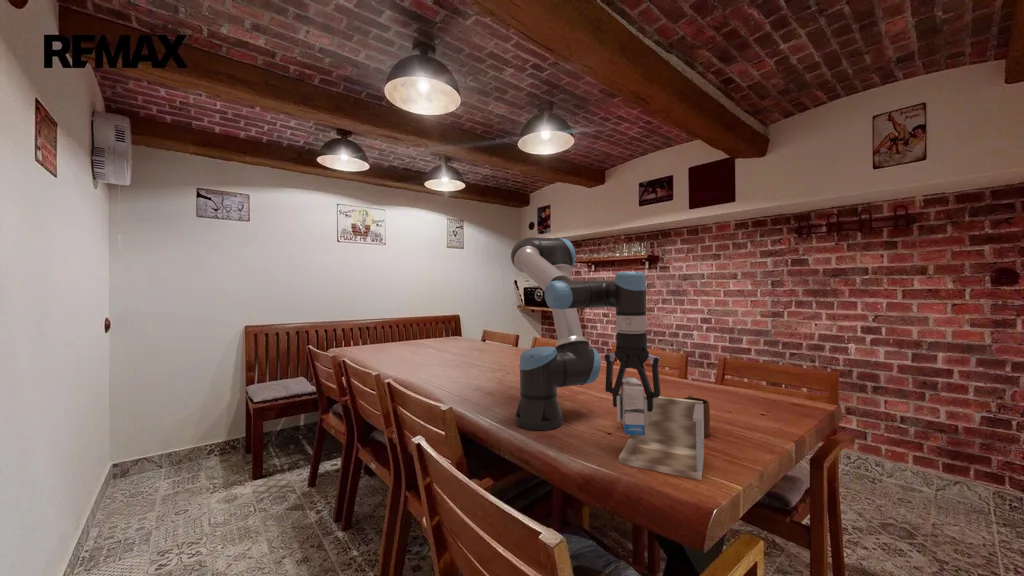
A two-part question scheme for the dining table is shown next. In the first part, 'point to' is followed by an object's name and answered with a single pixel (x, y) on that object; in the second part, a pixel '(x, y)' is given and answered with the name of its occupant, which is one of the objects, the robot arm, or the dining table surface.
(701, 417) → the bookend
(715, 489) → the dining table surface
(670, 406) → the shelf
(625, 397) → the ink box
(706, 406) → the mug
